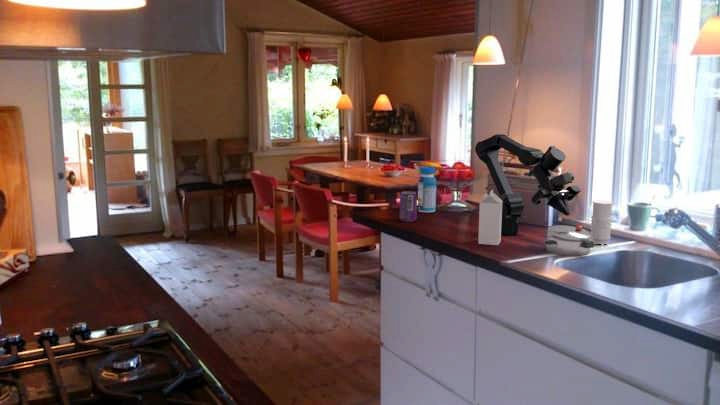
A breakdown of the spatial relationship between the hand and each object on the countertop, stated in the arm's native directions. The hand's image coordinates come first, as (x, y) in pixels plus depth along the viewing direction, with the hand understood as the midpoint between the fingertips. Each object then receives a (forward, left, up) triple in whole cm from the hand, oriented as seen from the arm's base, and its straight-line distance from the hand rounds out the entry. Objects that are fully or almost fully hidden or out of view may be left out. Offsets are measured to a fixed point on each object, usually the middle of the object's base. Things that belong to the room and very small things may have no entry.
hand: (568, 214), depth 218 cm
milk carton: (-26, +6, -13) cm, 29 cm away
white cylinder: (+13, +13, -13) cm, 23 cm away
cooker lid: (0, -1, -7) cm, 7 cm away
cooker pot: (+1, -1, -12) cm, 12 cm away
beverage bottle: (-53, +63, -13) cm, 83 cm away
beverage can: (-59, +40, -13) cm, 72 cm away
